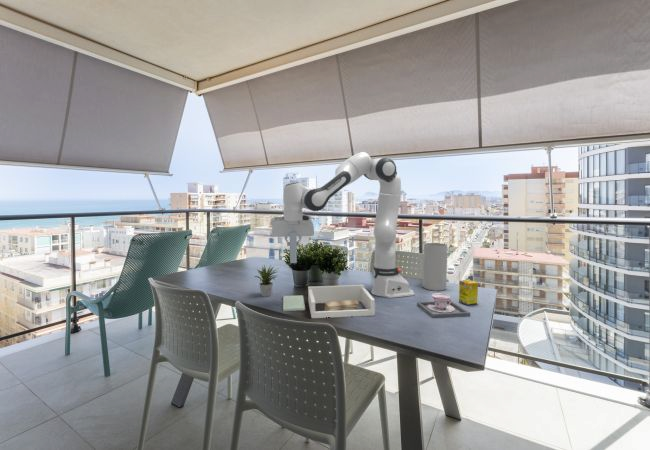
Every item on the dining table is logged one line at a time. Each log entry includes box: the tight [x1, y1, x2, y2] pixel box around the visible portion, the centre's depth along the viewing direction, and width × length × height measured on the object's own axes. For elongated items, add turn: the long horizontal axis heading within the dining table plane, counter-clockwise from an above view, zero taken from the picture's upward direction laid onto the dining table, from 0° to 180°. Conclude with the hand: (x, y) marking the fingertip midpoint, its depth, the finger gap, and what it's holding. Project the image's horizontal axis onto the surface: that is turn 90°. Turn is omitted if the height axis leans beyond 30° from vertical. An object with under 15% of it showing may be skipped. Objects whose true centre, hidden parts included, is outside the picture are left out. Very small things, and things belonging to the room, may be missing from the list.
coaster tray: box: [416, 300, 471, 319], centre depth 150 cm, size 17×17×2 cm
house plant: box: [254, 264, 280, 297], centre depth 173 cm, size 14×14×16 cm
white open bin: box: [307, 284, 376, 319], centre depth 153 cm, size 28×22×8 cm
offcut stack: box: [324, 300, 360, 311], centre depth 148 cm, size 15×6×4 cm, turn 108°
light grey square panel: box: [289, 232, 298, 264], centre depth 158 cm, size 14×3×14 cm, turn 7°
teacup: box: [427, 292, 456, 313], centre depth 153 cm, size 12×12×6 cm
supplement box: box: [458, 279, 479, 307], centre depth 160 cm, size 6×6×11 cm
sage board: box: [282, 294, 306, 312], centre depth 160 cm, size 10×20×1 cm, turn 7°
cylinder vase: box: [422, 242, 448, 292], centre depth 186 cm, size 12×12×25 cm
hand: (293, 245), depth 158 cm, fingers closed on light grey square panel, 3 cm apart
